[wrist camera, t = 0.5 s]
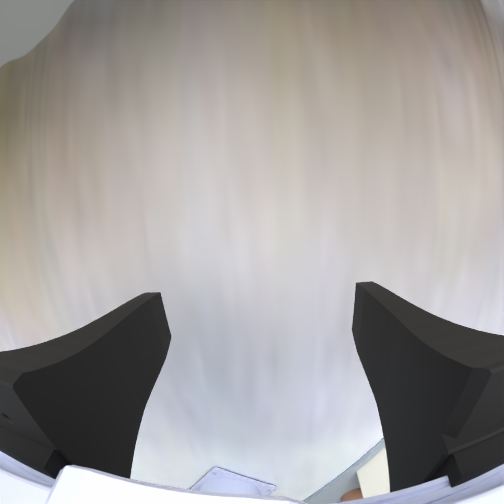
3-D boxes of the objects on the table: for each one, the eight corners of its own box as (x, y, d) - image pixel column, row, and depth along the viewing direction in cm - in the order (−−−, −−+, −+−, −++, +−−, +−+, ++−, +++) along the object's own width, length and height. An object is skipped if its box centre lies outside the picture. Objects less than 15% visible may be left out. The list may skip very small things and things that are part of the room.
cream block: (382, 476, 26) (392, 508, 21) (356, 471, 26) (365, 507, 20) (408, 454, 25) (423, 487, 20) (383, 448, 25) (397, 484, 19)
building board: (383, 513, 29) (384, 516, 29) (299, 503, 28) (300, 507, 27) (471, 441, 26) (473, 444, 25) (401, 420, 24) (403, 424, 24)
